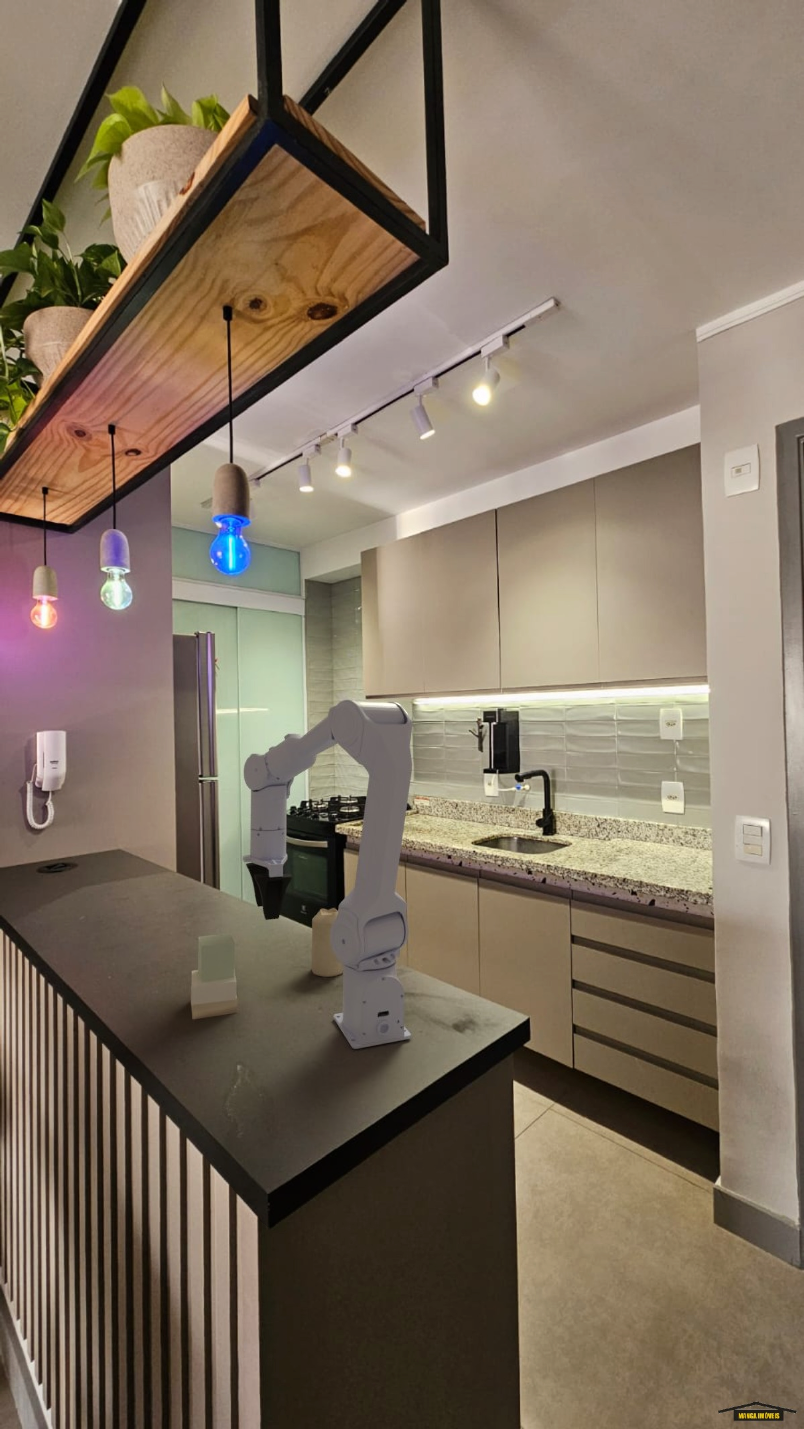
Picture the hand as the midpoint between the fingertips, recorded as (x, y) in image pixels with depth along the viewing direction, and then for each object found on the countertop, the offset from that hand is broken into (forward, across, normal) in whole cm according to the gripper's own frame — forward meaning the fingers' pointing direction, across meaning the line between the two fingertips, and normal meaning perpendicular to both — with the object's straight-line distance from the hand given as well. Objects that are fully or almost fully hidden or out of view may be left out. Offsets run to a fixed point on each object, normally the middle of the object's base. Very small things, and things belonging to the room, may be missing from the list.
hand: (267, 912), depth 103 cm
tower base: (+11, +8, -9) cm, 16 cm away
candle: (+11, +1, +10) cm, 15 cm away
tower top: (+8, +9, -9) cm, 15 cm away
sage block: (+6, +8, -9) cm, 13 cm away
